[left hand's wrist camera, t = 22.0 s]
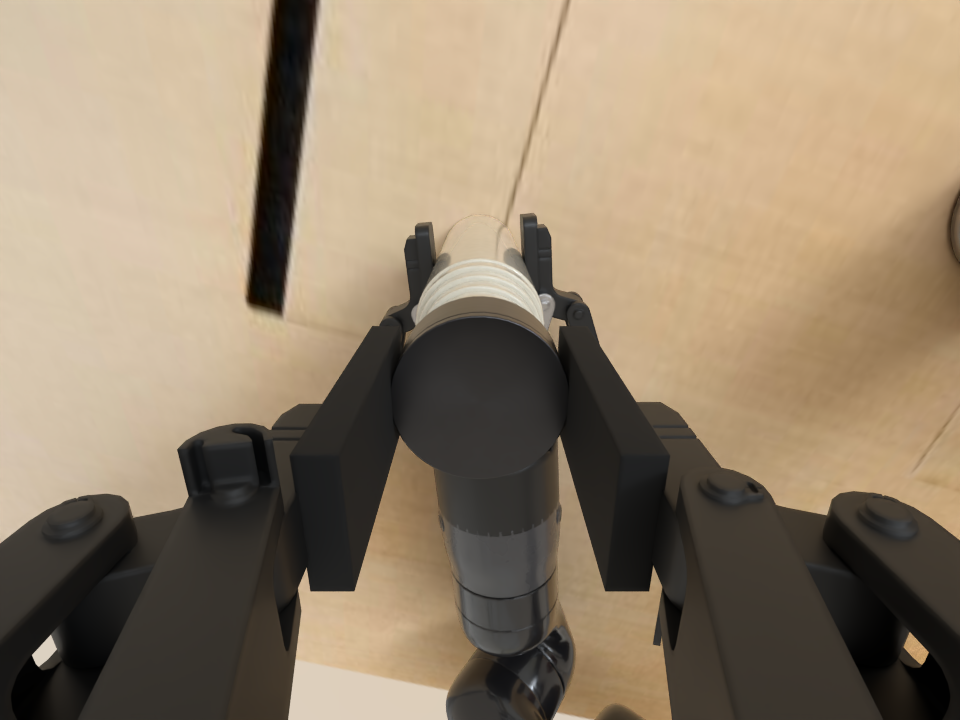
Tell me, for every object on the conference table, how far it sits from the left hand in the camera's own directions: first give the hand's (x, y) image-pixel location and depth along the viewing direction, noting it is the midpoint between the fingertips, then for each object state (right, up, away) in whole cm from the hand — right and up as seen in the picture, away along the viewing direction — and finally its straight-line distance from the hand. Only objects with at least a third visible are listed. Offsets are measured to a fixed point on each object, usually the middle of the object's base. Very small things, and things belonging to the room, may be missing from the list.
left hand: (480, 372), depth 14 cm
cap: (0, -1, -1) cm, 2 cm away
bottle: (0, +7, +19) cm, 20 cm away
